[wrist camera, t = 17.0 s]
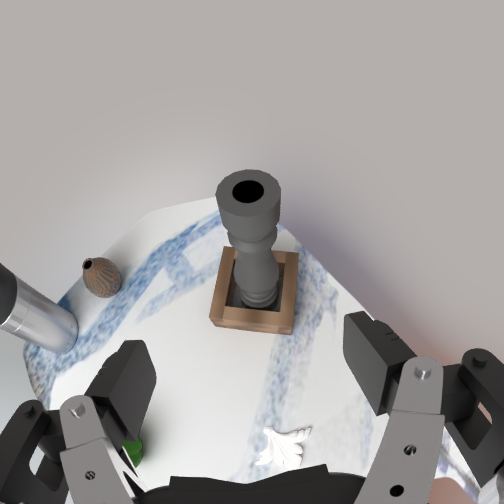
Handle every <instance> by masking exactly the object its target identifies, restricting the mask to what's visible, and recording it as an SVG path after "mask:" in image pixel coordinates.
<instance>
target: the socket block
mask: <svg viewBox="0 0 504 504" xmlns="http://www.w3.org/2000/svg"><path fill="white" fill-rule="evenodd" d="M271 251H272V250H271ZM272 253H273V255H274V257H275V259H276V261H277V264H278V267H279V276H280V277H284V279H283V289H282V299H281V308H280V312H272V311H263V310H254V309H245V308H236V307H231V305H232V299H233V293H234V288H235V282H236V281H235V277H234V268H235V263H236V259H237V255H238V251H237V250H235V248H234V247H227V246H224V248H223V253H222V257H221V262H220V267H219V271H218V276H217V281H216V285H215V290H214V295H213V300H212V304H211V309H210V314H209V318H210V319H211V321H212V322H213V324H214V325H215V326H217V327H224V328H232V329H239V330H247V331H256V332H264V333H274V334H284V335H290V334H291V331H292V328H293V321H294V309H295V297H296V285H297V271H298V256H299V253H294V252H283V251H272Z"/></svg>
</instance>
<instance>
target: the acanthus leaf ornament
mask: <svg viewBox="0 0 504 504" xmlns="http://www.w3.org/2000/svg"><path fill="white" fill-rule="evenodd" d="M310 430H311V428H310V427H308V428H306V429H305V430H304V431H303V430H299V432H297V431H293V432H291V433H288V434H282V433H278V432H276V431H275V430H274V428H273V427H271V426H267V427H265V428H264V433H265V434H267V435H268V440H269V442H268V445H267V446H266V447H265V448H264V449H263V450H262V451H261V452H260V454H261V456H260V457H259V460H258V461H256V462H255V464H256V465H259V464H266V463H268V462H270V461H271V460H272V459H273V457H274V458H275V462H276V464H277V465H279V466H280V465H282V464H283V463H284V462H285V465H286V467H287V468H294V469H298V468H299V467H300V466H301V461H302V457H301V456H300V455H298V454H301V453H302V452H303V449H302V448H301V446H299V445H298V444H296V443H298V442H301V441H303V440H305V439H306V438H307V437H308V435H309V433H310Z"/></svg>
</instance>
